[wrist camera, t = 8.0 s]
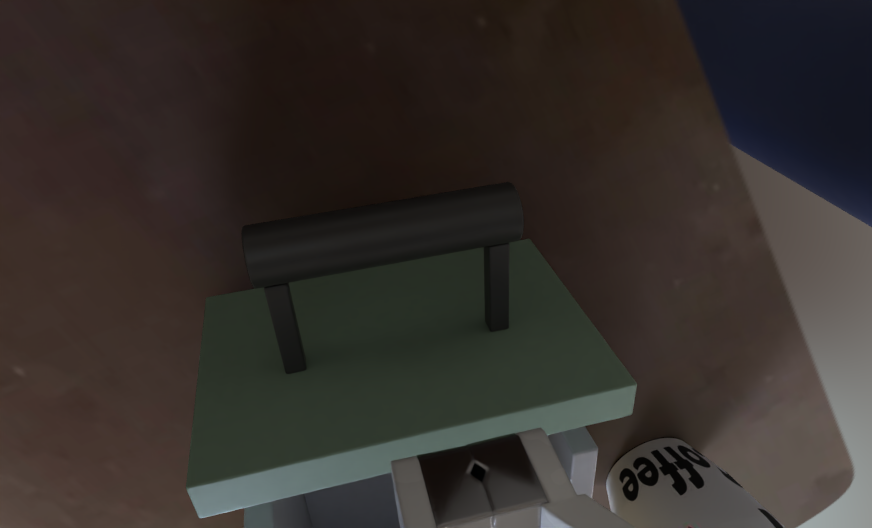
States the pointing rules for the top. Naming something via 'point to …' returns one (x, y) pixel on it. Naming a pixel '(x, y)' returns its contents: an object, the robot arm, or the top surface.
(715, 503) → the cup
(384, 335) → the green drawer
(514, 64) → the top surface
